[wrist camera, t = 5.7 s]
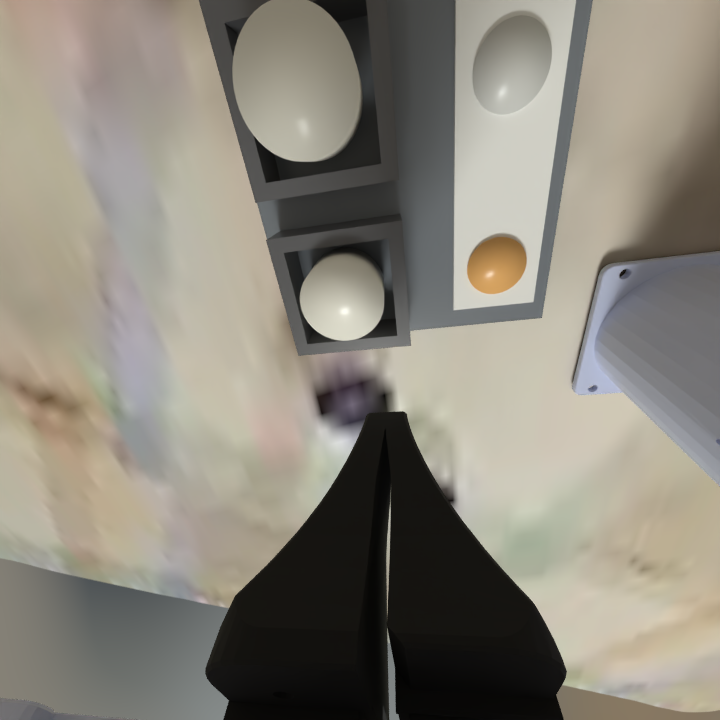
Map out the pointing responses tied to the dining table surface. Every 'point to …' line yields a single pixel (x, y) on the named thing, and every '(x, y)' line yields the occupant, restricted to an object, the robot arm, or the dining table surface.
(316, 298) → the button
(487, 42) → the button board
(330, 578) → the robot arm
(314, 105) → the button middle
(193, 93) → the dining table surface
